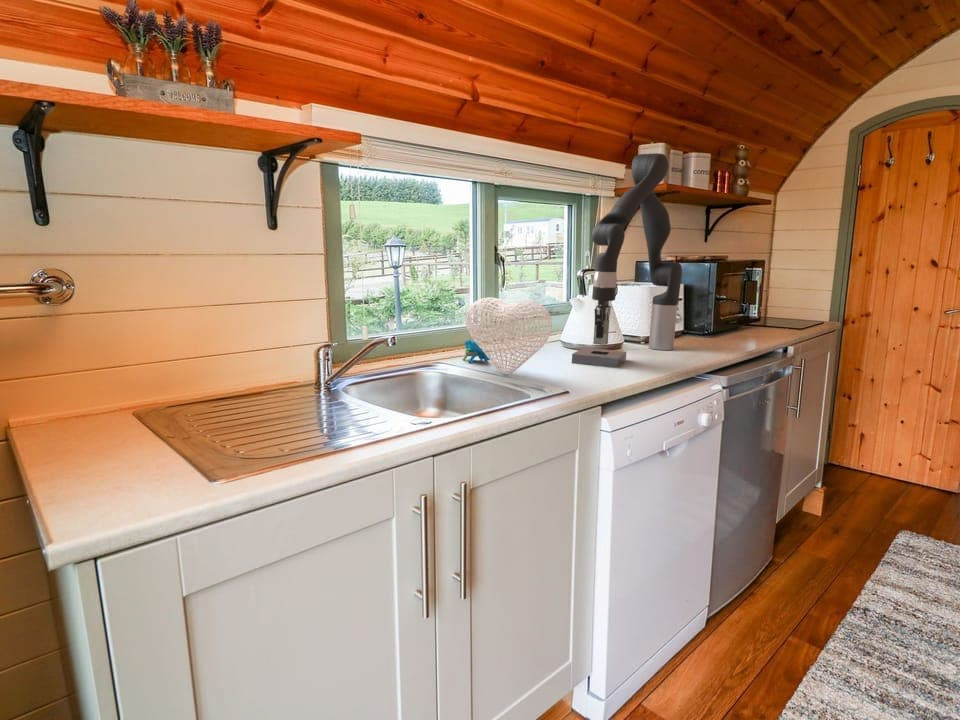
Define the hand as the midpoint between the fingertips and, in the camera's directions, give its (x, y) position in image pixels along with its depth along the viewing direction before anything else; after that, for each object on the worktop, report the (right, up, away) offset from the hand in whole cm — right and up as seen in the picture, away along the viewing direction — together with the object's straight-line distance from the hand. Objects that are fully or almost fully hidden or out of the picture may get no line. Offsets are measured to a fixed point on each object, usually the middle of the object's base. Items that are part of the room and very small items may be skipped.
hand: (600, 336), depth 195 cm
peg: (0, -2, 0) cm, 2 cm away
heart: (-33, -12, -22) cm, 41 cm away
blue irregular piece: (-42, -9, -4) cm, 43 cm away
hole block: (0, -8, +2) cm, 8 cm away
